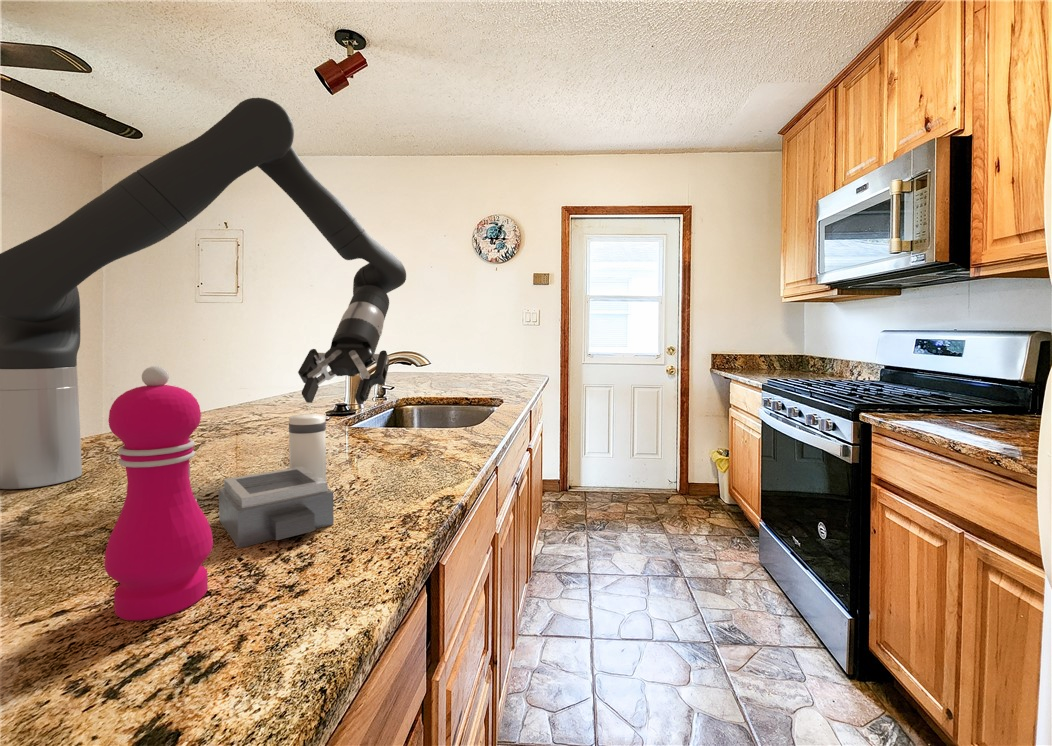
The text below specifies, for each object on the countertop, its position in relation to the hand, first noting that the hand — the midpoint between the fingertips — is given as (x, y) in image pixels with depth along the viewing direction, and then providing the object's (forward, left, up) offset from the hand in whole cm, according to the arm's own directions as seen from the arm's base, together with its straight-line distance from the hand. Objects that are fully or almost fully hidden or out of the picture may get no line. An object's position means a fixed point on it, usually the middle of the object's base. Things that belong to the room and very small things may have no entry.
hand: (332, 400), depth 77 cm
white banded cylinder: (+6, -6, -12) cm, 15 cm away
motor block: (+17, -13, -12) cm, 25 cm away
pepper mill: (+28, -25, -12) cm, 40 cm away
